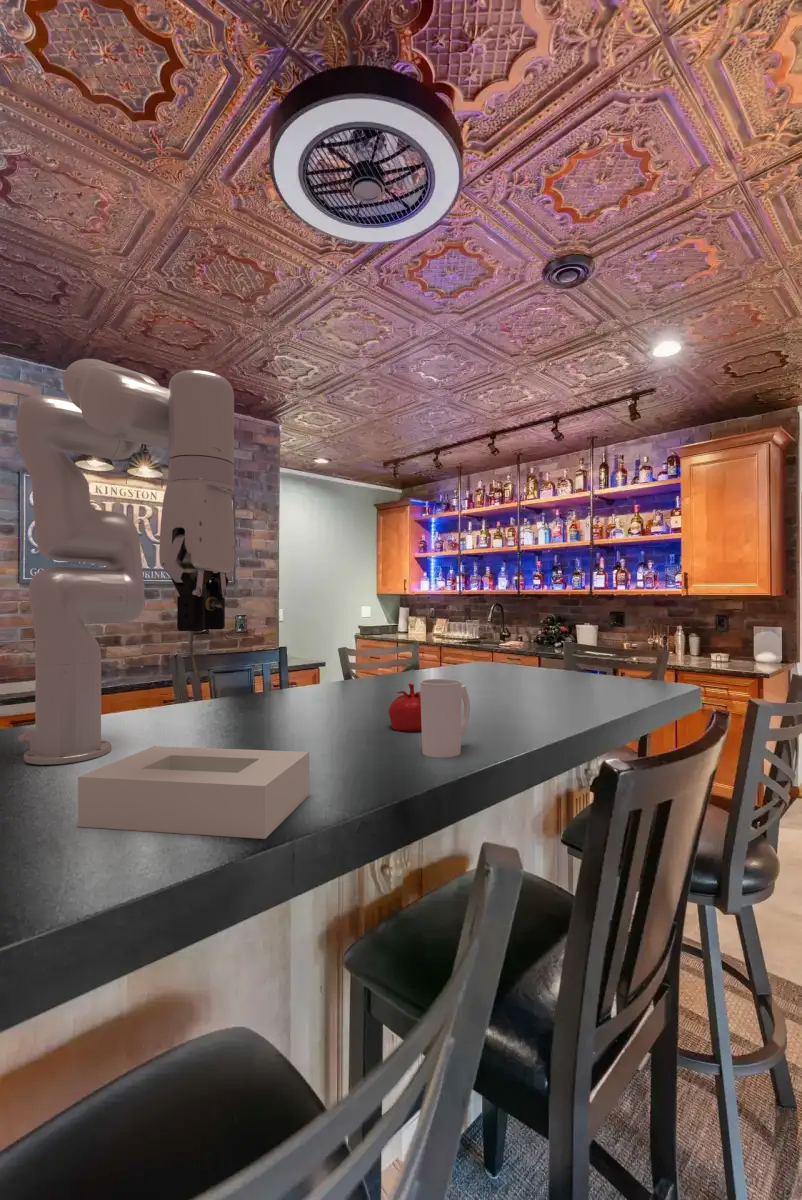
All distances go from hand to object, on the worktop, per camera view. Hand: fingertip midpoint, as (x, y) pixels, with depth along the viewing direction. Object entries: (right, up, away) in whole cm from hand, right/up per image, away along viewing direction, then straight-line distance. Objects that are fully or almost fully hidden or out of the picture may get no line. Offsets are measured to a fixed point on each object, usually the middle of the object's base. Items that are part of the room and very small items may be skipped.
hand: (201, 628), depth 67 cm
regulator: (0, -6, 0) cm, 6 cm away
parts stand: (0, -22, 0) cm, 22 cm away
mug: (+32, -22, +25) cm, 46 cm away
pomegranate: (+27, -22, +42) cm, 54 cm away
